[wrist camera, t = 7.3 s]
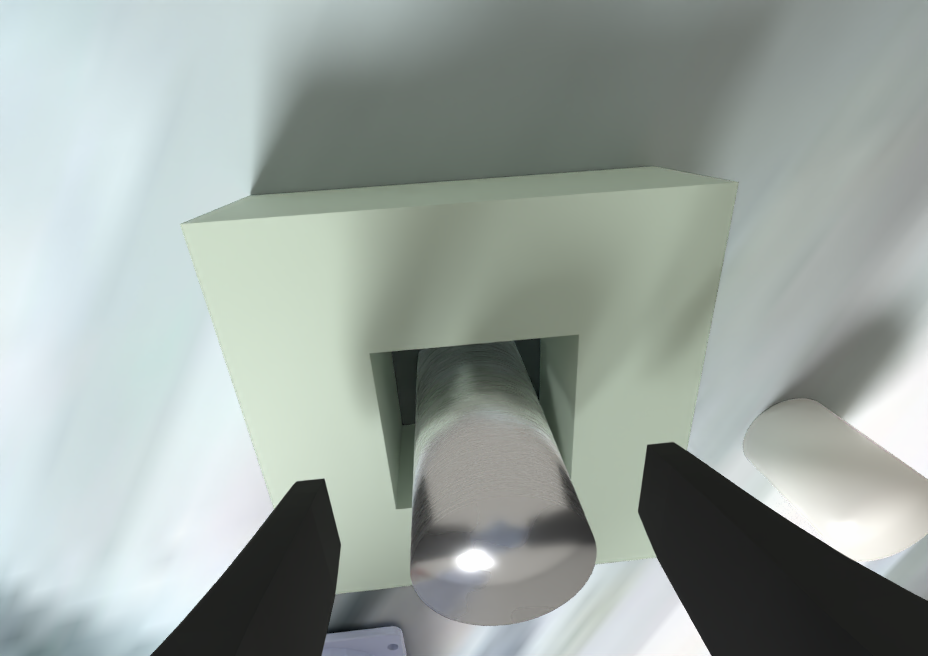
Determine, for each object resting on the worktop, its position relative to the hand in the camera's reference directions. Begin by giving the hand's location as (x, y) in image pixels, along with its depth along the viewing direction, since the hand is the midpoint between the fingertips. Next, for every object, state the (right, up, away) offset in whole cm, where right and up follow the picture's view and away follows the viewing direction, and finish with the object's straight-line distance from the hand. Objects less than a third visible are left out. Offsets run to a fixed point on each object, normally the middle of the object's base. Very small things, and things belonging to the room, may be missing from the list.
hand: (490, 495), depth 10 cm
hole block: (0, +3, +6) cm, 6 cm away
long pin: (0, +3, +6) cm, 6 cm away
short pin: (+13, -1, +8) cm, 15 cm away
